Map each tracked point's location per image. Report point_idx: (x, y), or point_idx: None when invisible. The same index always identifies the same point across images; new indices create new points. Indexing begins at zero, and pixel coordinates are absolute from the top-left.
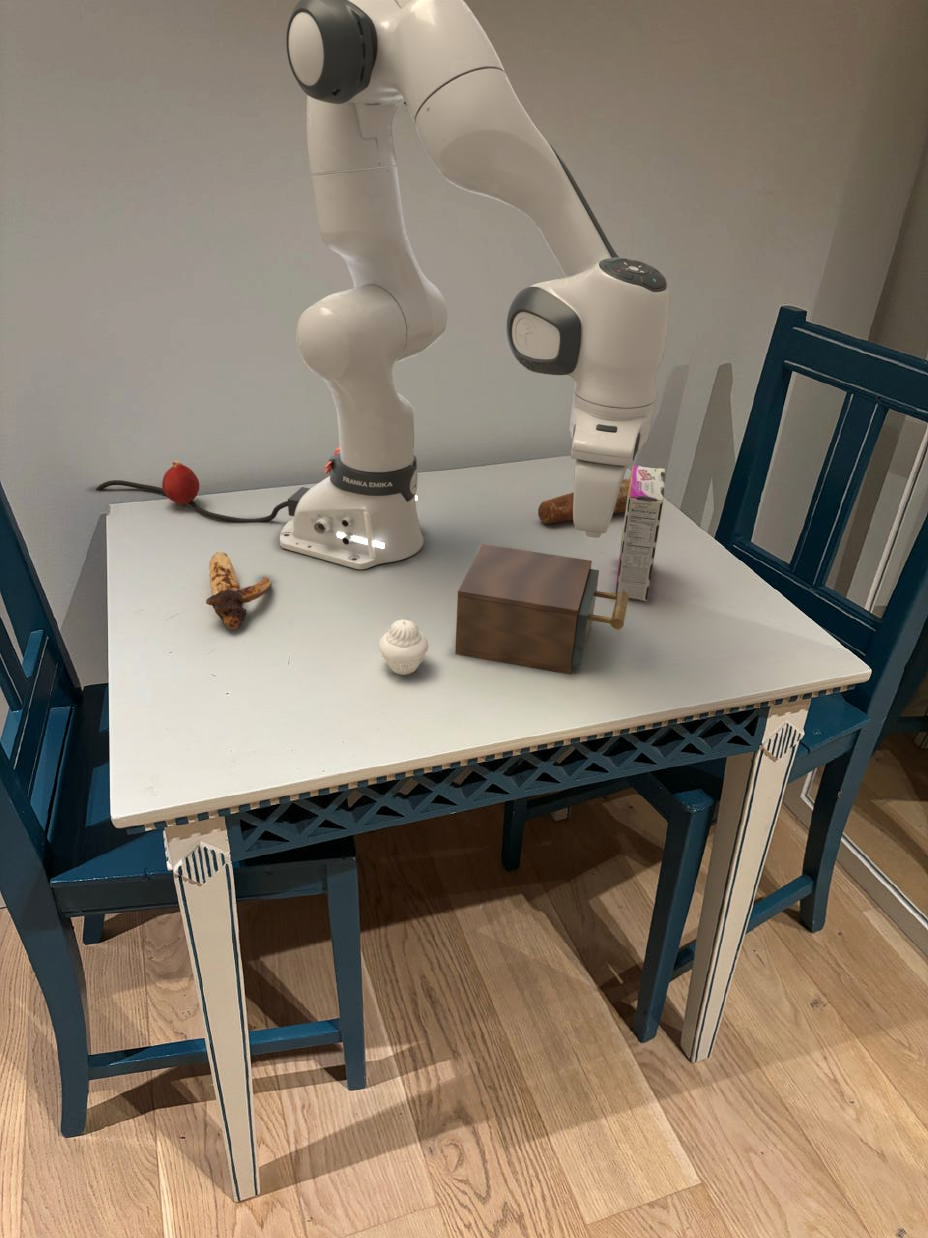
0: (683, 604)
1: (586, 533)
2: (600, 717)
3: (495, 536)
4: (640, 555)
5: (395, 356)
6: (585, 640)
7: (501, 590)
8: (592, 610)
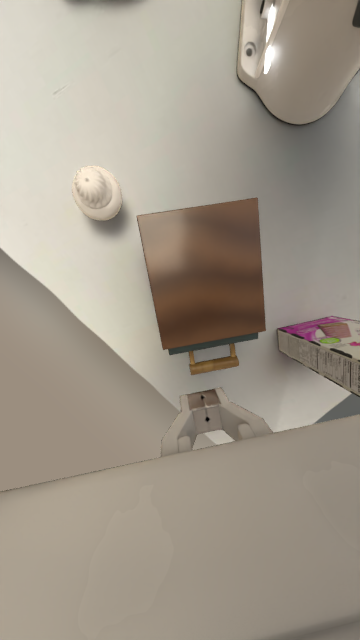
0: (285, 373)
1: (180, 397)
2: (128, 362)
3: (348, 193)
4: (309, 358)
5: None
6: None
7: (162, 264)
8: None
